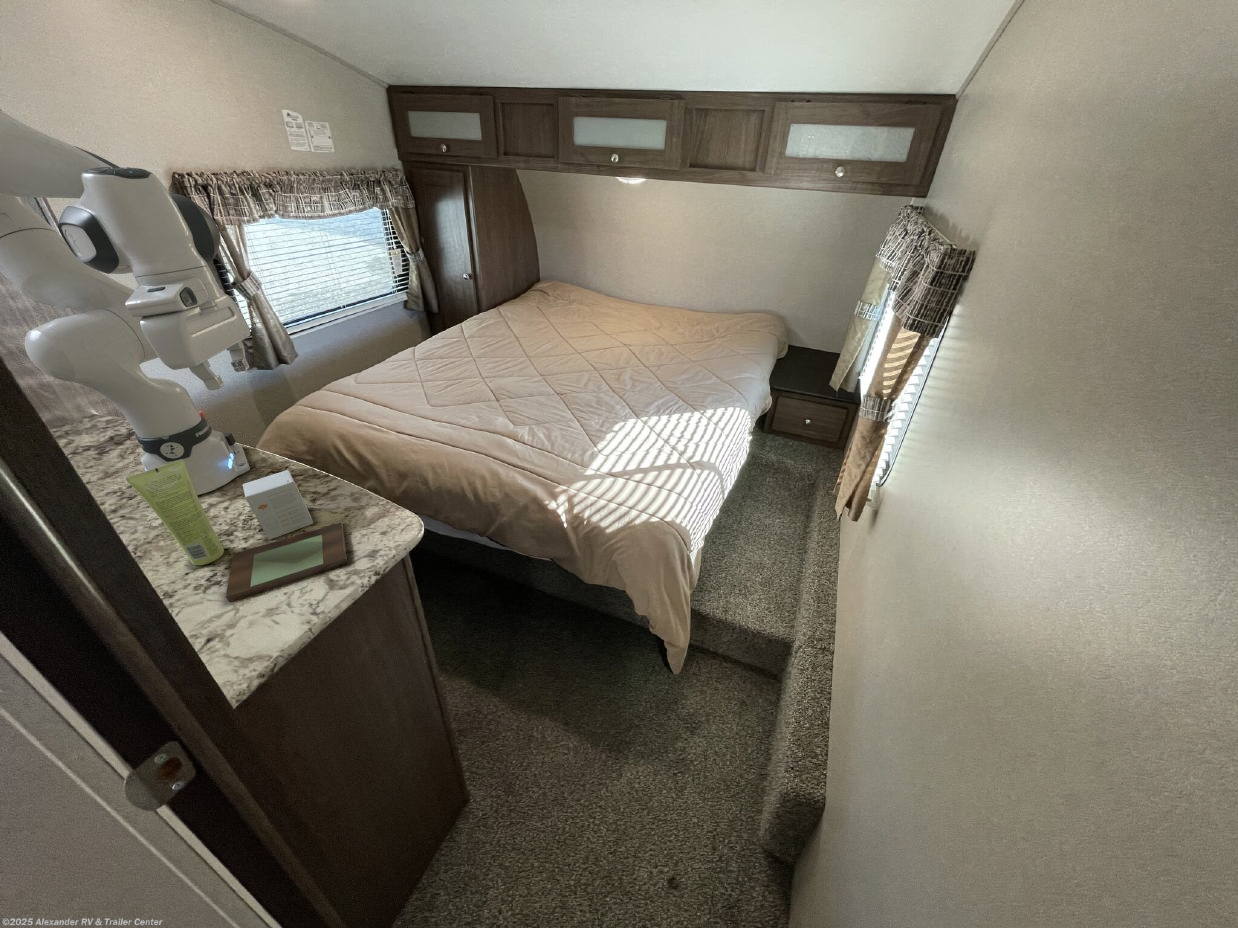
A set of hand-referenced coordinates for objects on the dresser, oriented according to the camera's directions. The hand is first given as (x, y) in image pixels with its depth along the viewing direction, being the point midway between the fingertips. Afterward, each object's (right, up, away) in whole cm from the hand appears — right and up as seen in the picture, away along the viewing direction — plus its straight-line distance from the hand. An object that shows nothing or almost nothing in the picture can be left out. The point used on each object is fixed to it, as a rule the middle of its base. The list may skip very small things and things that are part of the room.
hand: (230, 379), depth 80 cm
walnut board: (+4, -32, +9) cm, 33 cm away
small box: (-3, -26, +18) cm, 32 cm away
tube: (-12, -31, +11) cm, 35 cm away
